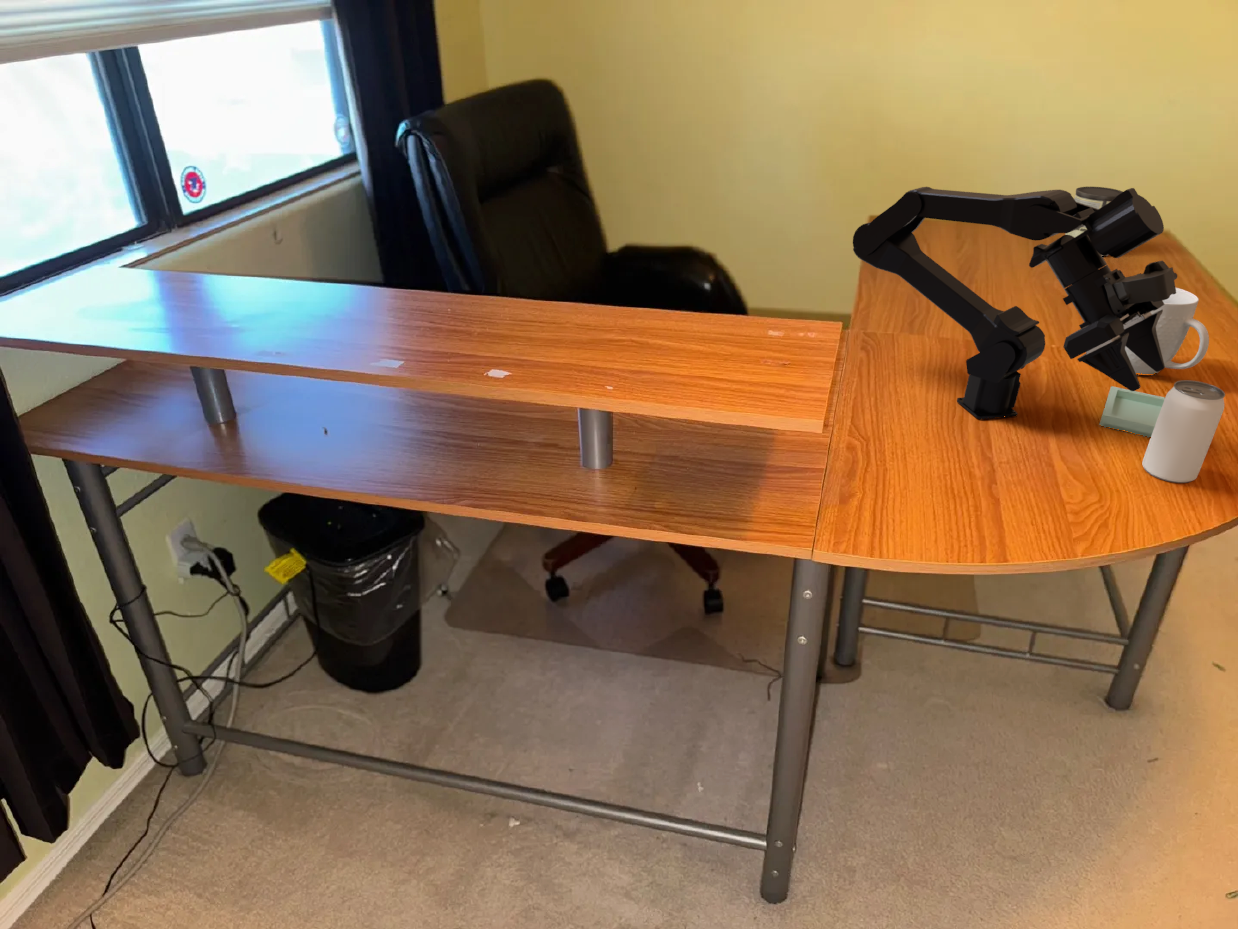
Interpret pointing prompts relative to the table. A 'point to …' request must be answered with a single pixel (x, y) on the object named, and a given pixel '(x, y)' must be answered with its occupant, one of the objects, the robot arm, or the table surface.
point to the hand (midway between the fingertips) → (1149, 379)
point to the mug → (1174, 332)
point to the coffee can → (1093, 200)
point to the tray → (1131, 411)
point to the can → (1184, 431)
